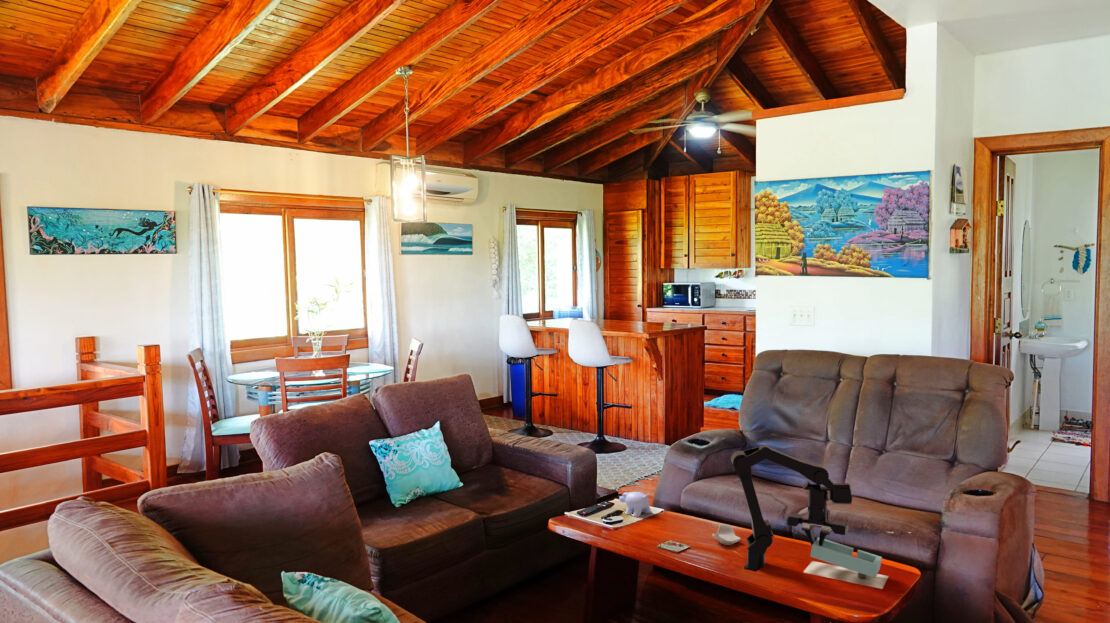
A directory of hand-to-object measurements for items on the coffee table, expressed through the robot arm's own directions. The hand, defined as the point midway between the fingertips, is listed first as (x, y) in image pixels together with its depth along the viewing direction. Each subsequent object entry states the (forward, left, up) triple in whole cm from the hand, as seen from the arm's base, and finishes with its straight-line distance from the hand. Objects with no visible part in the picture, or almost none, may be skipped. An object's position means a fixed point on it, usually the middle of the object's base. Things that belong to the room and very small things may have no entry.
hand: (816, 549), depth 245 cm
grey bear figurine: (+25, +79, -8) cm, 84 cm away
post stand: (0, -9, -7) cm, 12 cm away
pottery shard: (+10, +35, -8) cm, 37 cm away
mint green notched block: (0, -9, -3) cm, 9 cm away
